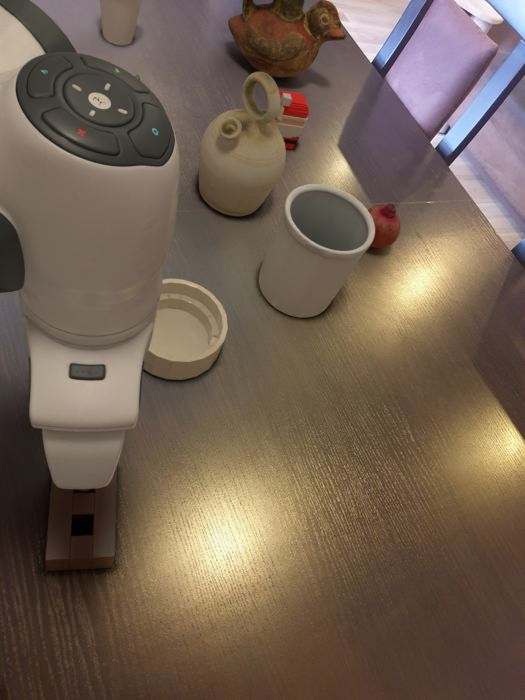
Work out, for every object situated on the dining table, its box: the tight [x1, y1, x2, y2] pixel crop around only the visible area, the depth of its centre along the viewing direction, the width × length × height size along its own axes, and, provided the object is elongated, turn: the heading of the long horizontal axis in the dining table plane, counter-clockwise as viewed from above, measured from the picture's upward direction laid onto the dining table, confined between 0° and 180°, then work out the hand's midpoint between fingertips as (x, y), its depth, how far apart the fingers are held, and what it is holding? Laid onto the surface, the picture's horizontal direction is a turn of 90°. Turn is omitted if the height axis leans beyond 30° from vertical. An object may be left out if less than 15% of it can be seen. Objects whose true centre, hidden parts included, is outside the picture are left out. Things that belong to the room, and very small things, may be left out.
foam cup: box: [99, 0, 143, 46], centre depth 119 cm, size 10×9×13 cm
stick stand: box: [44, 465, 118, 572], centre depth 68 cm, size 7×12×6 cm, turn 6°
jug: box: [198, 71, 287, 217], centre depth 98 cm, size 15×16×25 cm
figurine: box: [262, 89, 310, 150], centre depth 117 cm, size 8×7×12 cm
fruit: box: [367, 203, 401, 249], centre depth 109 cm, size 8×8×10 cm
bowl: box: [143, 278, 229, 381], centre depth 85 cm, size 15×15×6 cm
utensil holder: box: [258, 183, 375, 319], centre depth 94 cm, size 15×15×18 cm
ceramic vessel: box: [227, 0, 347, 78], centre depth 125 cm, size 17×26×25 cm, turn 77°
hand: (87, 396), depth 50 cm, fingers open, 8 cm apart
